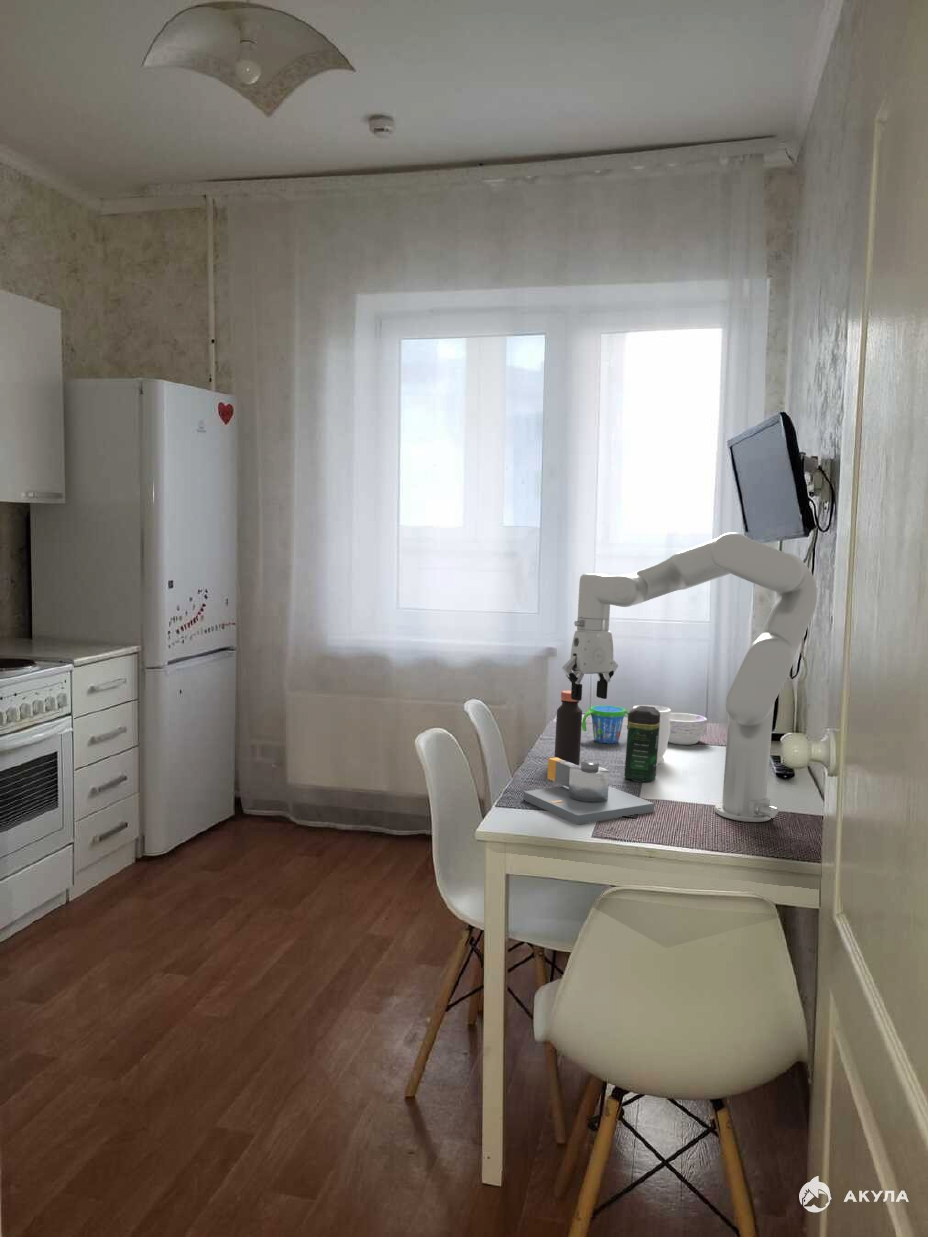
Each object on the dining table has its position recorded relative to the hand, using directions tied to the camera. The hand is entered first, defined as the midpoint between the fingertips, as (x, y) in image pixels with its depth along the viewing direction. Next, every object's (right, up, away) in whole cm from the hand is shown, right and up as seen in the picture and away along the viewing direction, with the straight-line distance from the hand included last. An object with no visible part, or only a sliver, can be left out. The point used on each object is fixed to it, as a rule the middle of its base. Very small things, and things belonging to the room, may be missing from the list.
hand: (589, 698), depth 224 cm
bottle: (-2, -20, +27) cm, 34 cm away
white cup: (+21, -21, +36) cm, 47 cm away
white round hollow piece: (+36, -19, +63) cm, 75 cm away
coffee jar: (+16, -22, +17) cm, 32 cm away
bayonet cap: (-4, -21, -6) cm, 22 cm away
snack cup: (+13, -18, +59) cm, 63 cm away
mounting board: (-2, -24, -10) cm, 26 cm away
